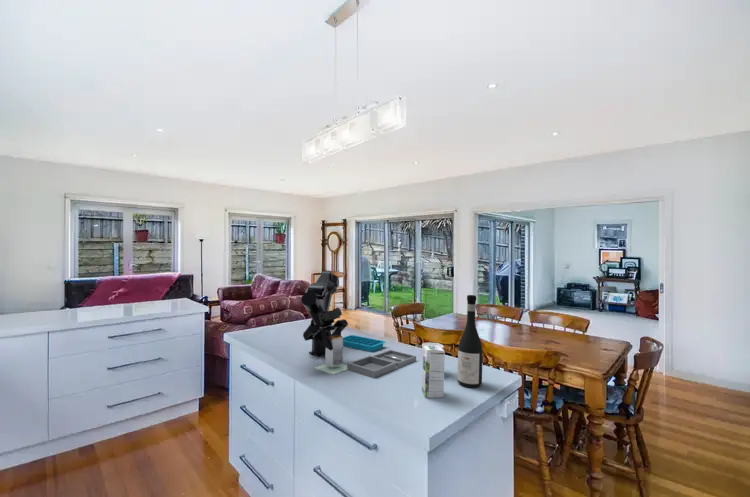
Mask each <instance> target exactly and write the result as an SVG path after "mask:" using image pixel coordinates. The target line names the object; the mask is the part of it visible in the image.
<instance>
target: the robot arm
mask: <svg viewBox="0 0 750 497" xmlns="http://www.w3.org/2000/svg"><path fill="white" fill-rule="evenodd" d="M339 286H340V279H339V277H338V276H337V275H336V274H334V272H332V271H328V270H327V271H326V270H324V271H321V272H320V274H319V277H318V278H317V279H316V282H312V283H310V284H309V286H308V287H307V288H306V290H305V291H304V293H303V295H302V296H301V298H300V300H301V303H302V305H303V306H304V308H305V310H306V311H307V312H308V315H309V316H310V318H311V320H310V323H309V325H308V327H307V328H306V329H305V331H304V332H302V333H303V334H302V337H303V339H304V341H310V340H311V350H310V351H308V353H309V354H311V355H314V356H317V357H321V356H325V353H326V348H328V349H329V350H332V349H333V348H332V346H331V343H330V342H329V340H328V338H327V337H328V336H332V335H339V336H342V332H343V331H344V330H345V329H346V327H347V326H348V325H349V322H348V321H347V320H346V319H341V316H342V314H343V313H342V310H341V308H340V307H335V308H334V309H331V310H330V306H331V301H332V297H333V295H334V294H335V293H336V292H337V291H338V288H339ZM336 319H338V320H336ZM335 320H336V322H335ZM333 323H334V324H333Z"/></svg>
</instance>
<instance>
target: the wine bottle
mask: <svg viewBox="0 0 750 497" xmlns="http://www.w3.org/2000/svg"><path fill="white" fill-rule="evenodd" d="M466 301H467V302H466V324H465V327H464V330H463V333H462V334H461V337H460V339H459V343H458V348H457V383H458V384H459V385H461V386H463V387H466V388H474V389H475V388H478V387H480V386H481V385H482V382H483V358H484V357H483V354H484V352H483V351H484V350H483V346H482V340H481V338H480V336H479V333H478V330H477V326H476V304H477V303H476V302H477V295H474V294H468V295H466Z"/></svg>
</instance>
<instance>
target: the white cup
mask: <svg viewBox="0 0 750 497" xmlns="http://www.w3.org/2000/svg"><path fill="white" fill-rule="evenodd" d="M427 345H435V346H440V347H441V348H442V349H443V350H444V348H445V347H444V345H443V344H441V343H439V342H438V343H437V342H423V343H422V344H421V353H422V354H421V357H422V358H421V361H422V365H423V348H424V346H427Z"/></svg>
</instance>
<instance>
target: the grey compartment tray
mask: <svg viewBox="0 0 750 497" xmlns="http://www.w3.org/2000/svg"><path fill="white" fill-rule="evenodd" d="M384 355H389V356H393V357H396V358H400V359H403V361H397V360H394V359H390V358H386V357H384ZM414 362H417V355H413V354H410V353H409V354H408V353H404V352H402V351H397V350H393V349H389V350H386V351H382V352H380V353H377V354H374V355H367V356H364V357H360V358H359V359H355V360H353V361H349V362H347V364H346V365H347V369H348V370H347V371H351V372H354V373H358V374H360V375H363V376H366V377H369V378H373V379H376V378H378V377H381V376H383V375H386V374H388V373H391V372H392V371H394V370H397V369H401V368H402V367H404V366H405V367H406V366H407V365H409V364H412V363H414Z"/></svg>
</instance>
